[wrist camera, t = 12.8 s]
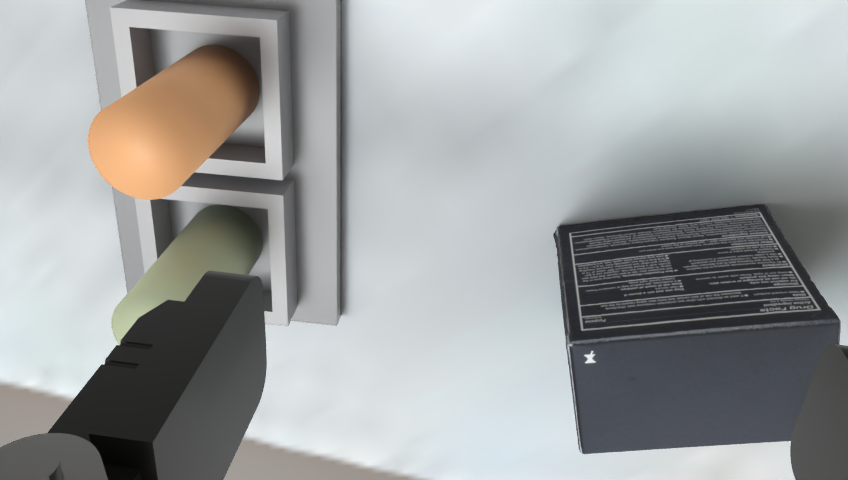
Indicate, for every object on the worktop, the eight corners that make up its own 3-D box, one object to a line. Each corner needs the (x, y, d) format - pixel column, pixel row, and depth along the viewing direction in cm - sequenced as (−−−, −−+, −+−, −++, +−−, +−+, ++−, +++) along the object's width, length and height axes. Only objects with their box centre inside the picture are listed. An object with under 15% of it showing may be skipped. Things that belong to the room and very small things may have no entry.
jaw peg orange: (175, 41, 38) (80, 97, 30) (257, 48, 37) (184, 106, 29) (182, 121, 39) (95, 194, 31) (261, 128, 39) (193, 204, 31)
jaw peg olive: (186, 201, 41) (105, 288, 33) (260, 208, 41) (197, 298, 33) (193, 267, 43) (117, 365, 35) (264, 274, 43) (204, 375, 35)
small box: (565, 329, 44) (575, 463, 34) (552, 224, 41) (560, 338, 32) (767, 312, 42) (836, 449, 32) (768, 200, 39) (845, 315, 30)
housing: (91, -30, 37) (58, -20, 35) (340, -12, 36) (326, 0, 34) (136, 294, 46) (112, 322, 43) (340, 315, 45) (328, 346, 42)
